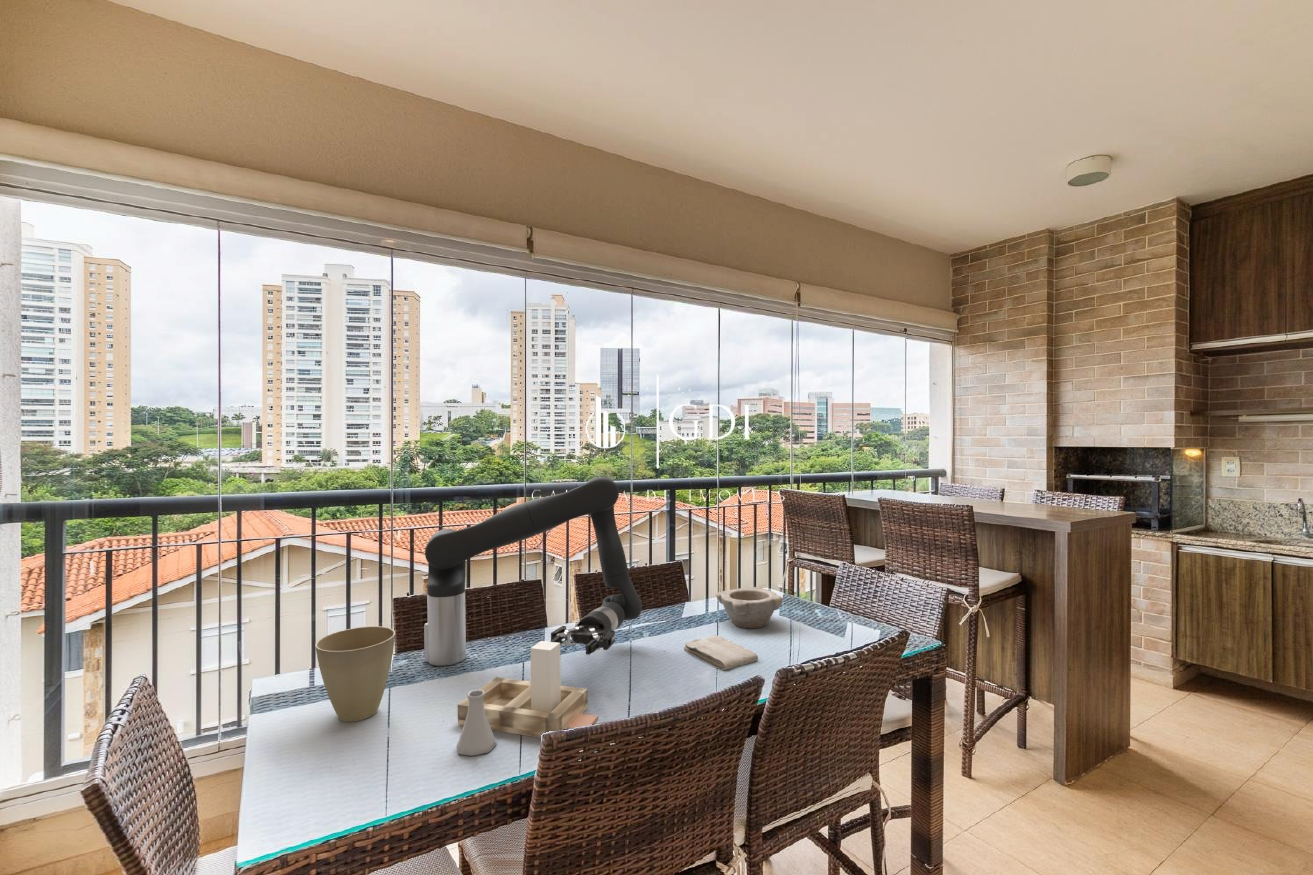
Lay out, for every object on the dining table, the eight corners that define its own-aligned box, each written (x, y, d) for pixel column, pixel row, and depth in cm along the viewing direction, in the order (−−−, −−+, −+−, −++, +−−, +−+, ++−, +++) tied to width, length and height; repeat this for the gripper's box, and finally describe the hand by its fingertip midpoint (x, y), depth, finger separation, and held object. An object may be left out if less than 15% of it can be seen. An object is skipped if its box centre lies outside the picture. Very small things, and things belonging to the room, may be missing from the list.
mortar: (713, 618, 187) (712, 589, 187) (762, 613, 192) (762, 584, 192) (734, 635, 171) (734, 603, 171) (788, 629, 176) (787, 598, 176)
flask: (461, 737, 115) (460, 685, 115) (499, 735, 116) (499, 684, 115) (451, 758, 108) (451, 702, 108) (492, 756, 108) (492, 700, 108)
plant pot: (341, 697, 133) (340, 625, 133) (408, 698, 132) (407, 626, 132) (299, 731, 118) (298, 650, 118) (374, 732, 117) (373, 650, 117)
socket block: (457, 724, 120) (457, 704, 120) (496, 695, 134) (496, 677, 133) (576, 743, 112) (576, 721, 112) (605, 710, 126) (605, 691, 126)
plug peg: (531, 717, 121) (530, 648, 120) (541, 708, 125) (540, 640, 125) (551, 720, 119) (550, 650, 119) (560, 710, 124) (560, 642, 123)
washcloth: (715, 642, 167) (715, 631, 167) (760, 662, 152) (760, 650, 152) (680, 651, 160) (680, 640, 160) (724, 673, 146) (724, 660, 146)
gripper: (571, 608, 150) (540, 628, 135) (625, 612, 146) (599, 634, 130) (572, 638, 150) (540, 661, 135) (625, 643, 146) (599, 668, 130)
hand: (569, 648), depth 133 cm, fingers open, 8 cm apart
